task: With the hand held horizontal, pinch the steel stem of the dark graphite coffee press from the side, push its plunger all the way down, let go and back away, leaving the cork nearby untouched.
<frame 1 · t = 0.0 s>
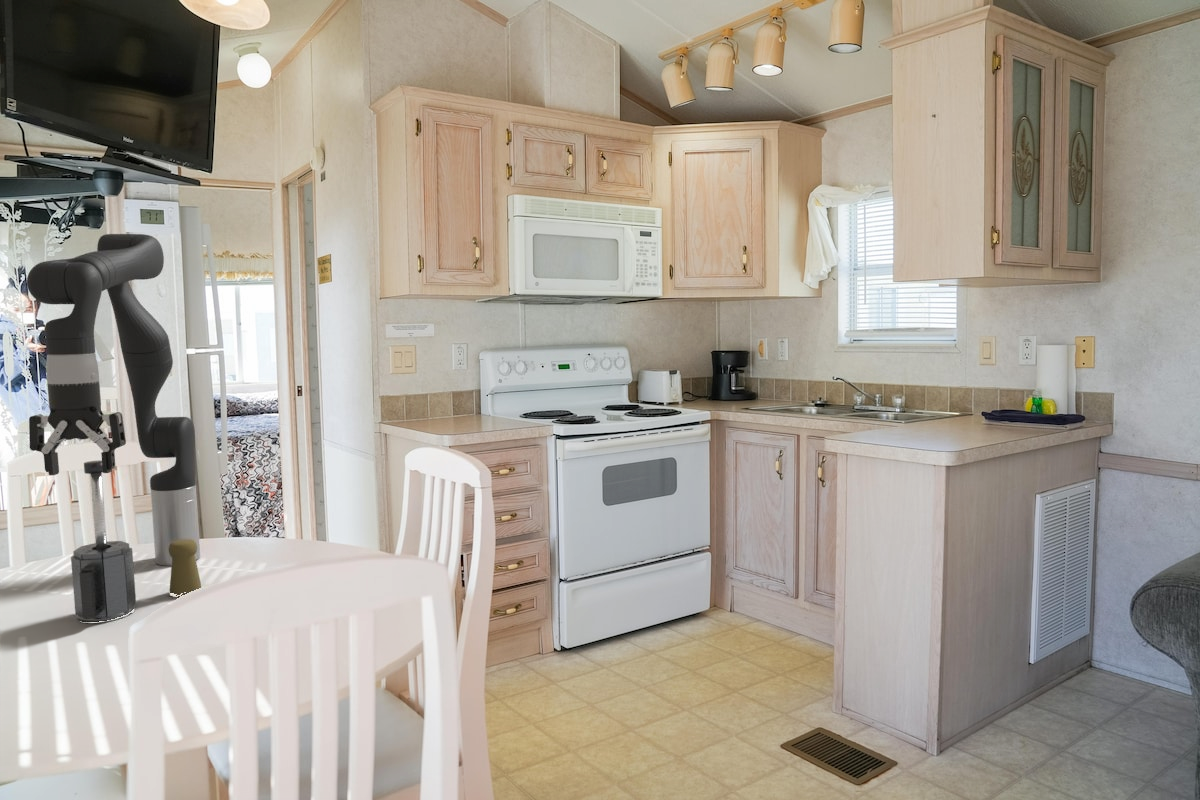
hand: (80, 473, 142), 29 cm above the table, tool pointing down, fingers open, 8 cm apart
plunger: (99, 517, 153), point 19 cm above the table, slide at 0.0 cm
coffee press: (106, 614, 156), on the table
cork: (185, 593, 167), on the table
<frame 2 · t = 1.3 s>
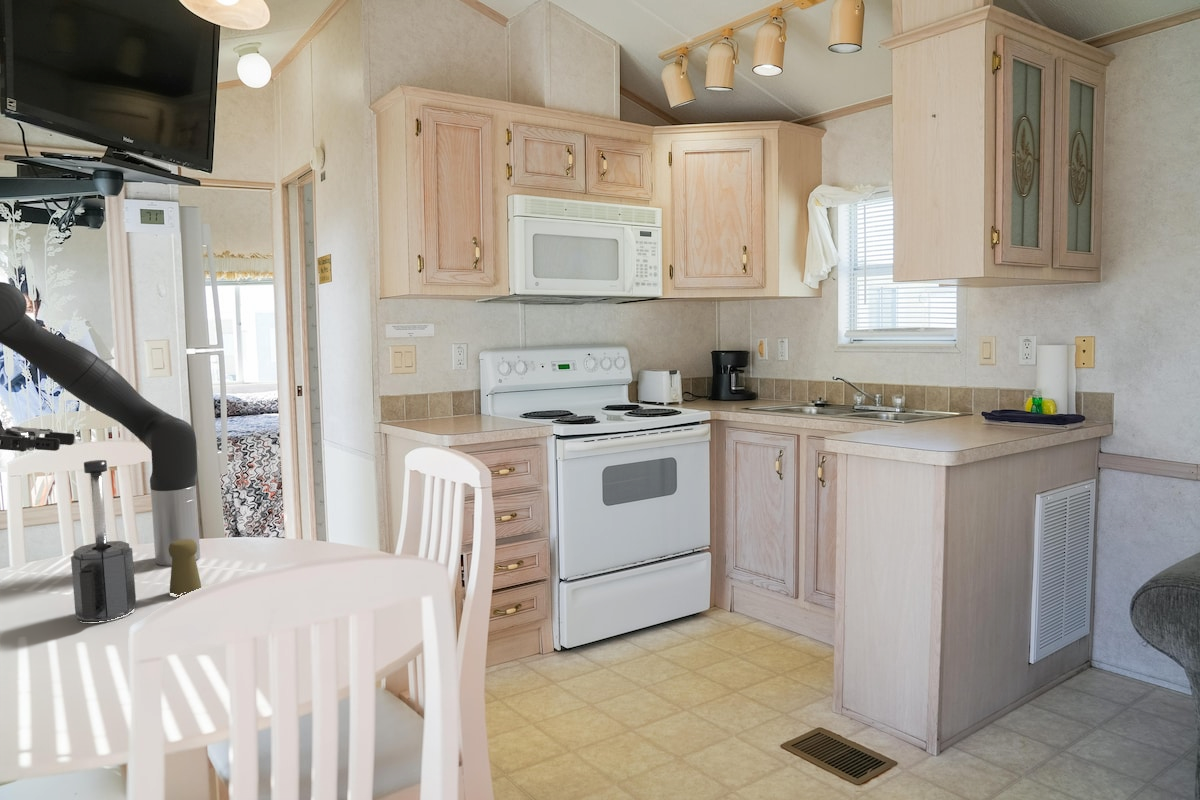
hand: (66, 442, 156), 33 cm above the table, tool horizontal, fingers open, 8 cm apart
nothing on the table moved.
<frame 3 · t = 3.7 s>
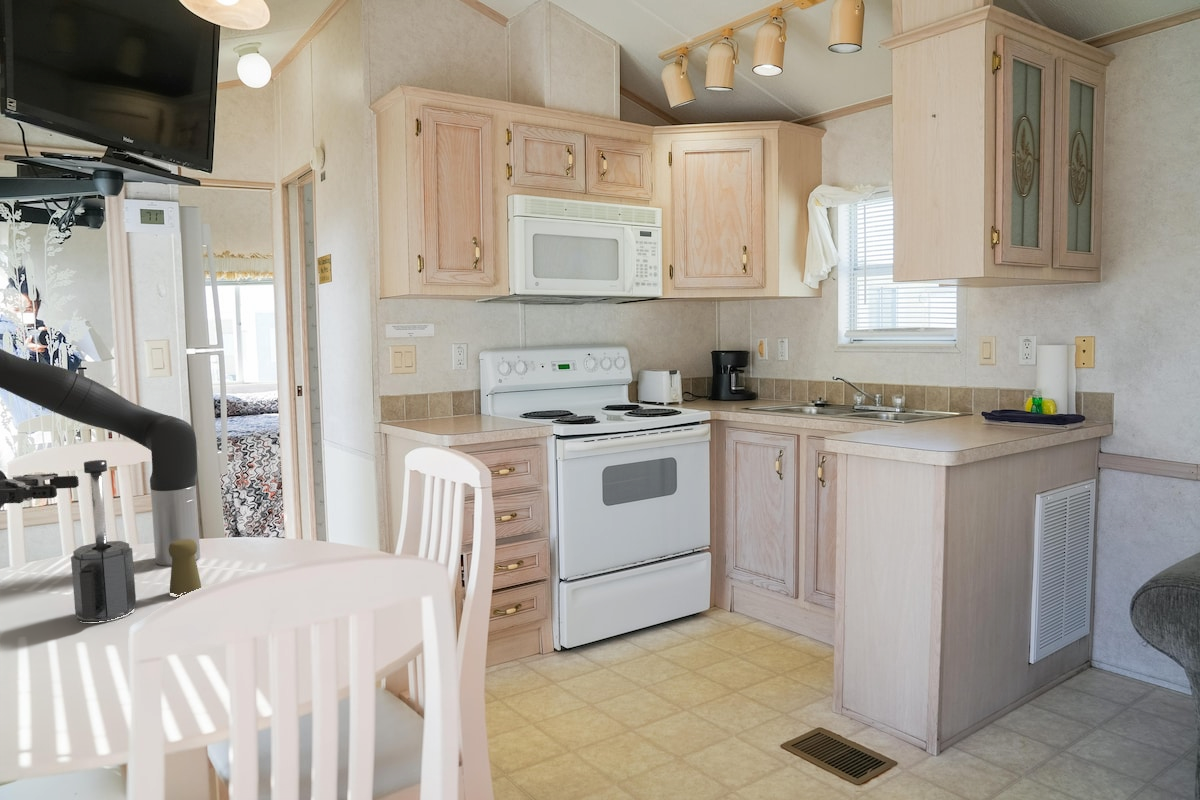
hand: (67, 486, 152), 25 cm above the table, tool horizontal, fingers open, 8 cm apart
nothing on the table moved.
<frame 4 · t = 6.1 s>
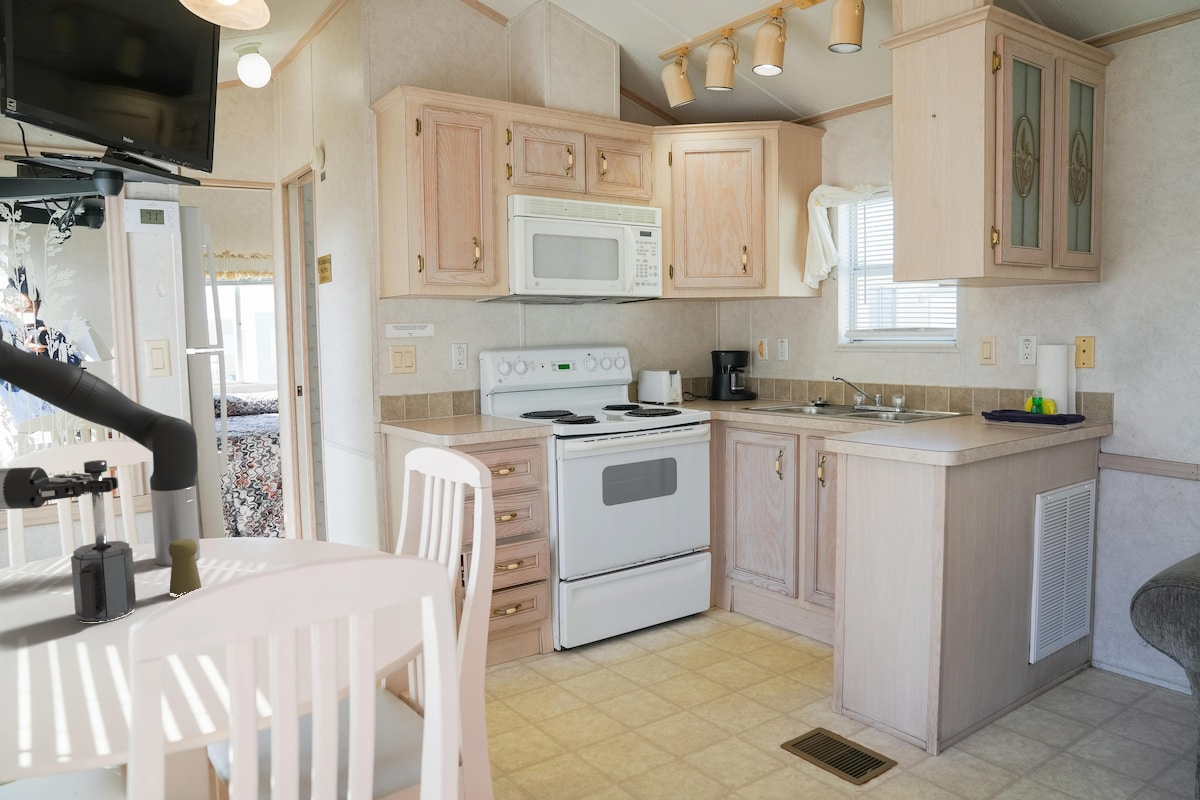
hand: (114, 484, 153), 25 cm above the table, tool horizontal, fingers closed on plunger, 2 cm apart
plunger: (99, 517, 153), point 19 cm above the table, slide at 0.0 cm, touching gripper
everything else where it was.
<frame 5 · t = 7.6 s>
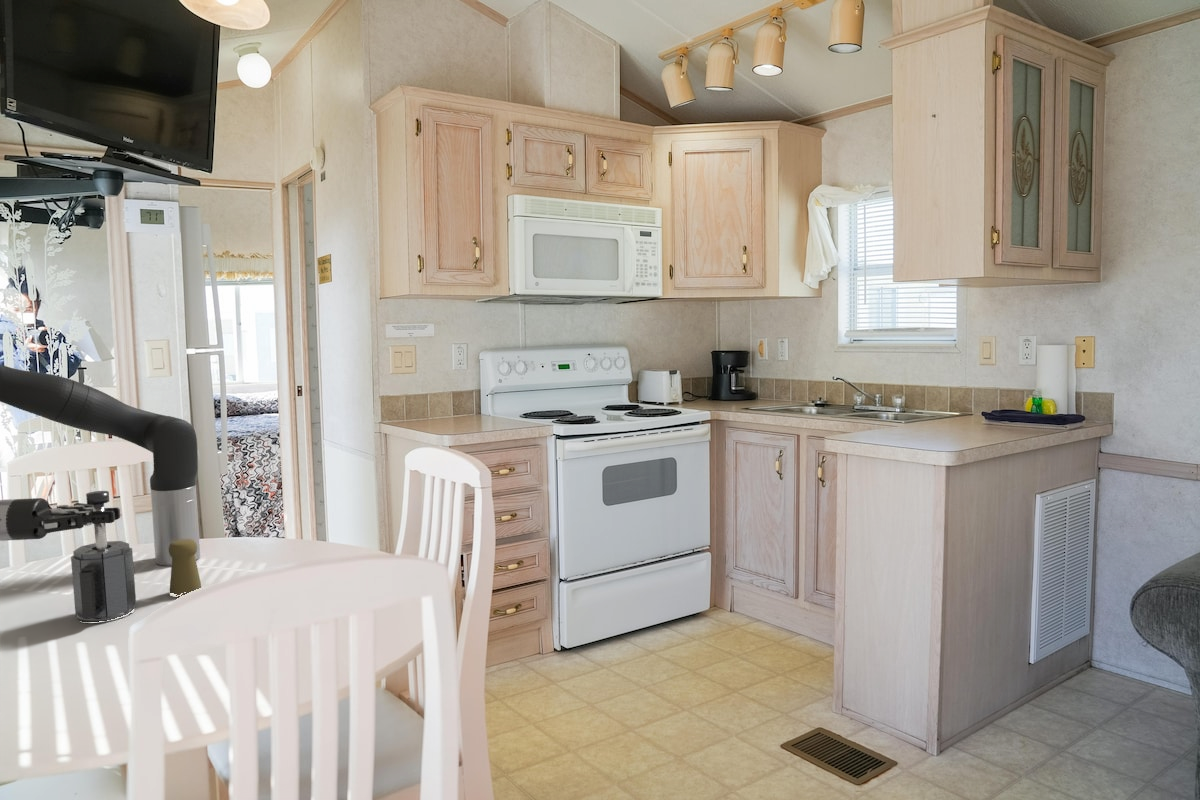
hand: (116, 515, 154), 19 cm above the table, tool horizontal, fingers closed on plunger, 2 cm apart
plunger: (101, 547, 154), point 13 cm above the table, slide at 5.8 cm, touching gripper
everything else where it was.
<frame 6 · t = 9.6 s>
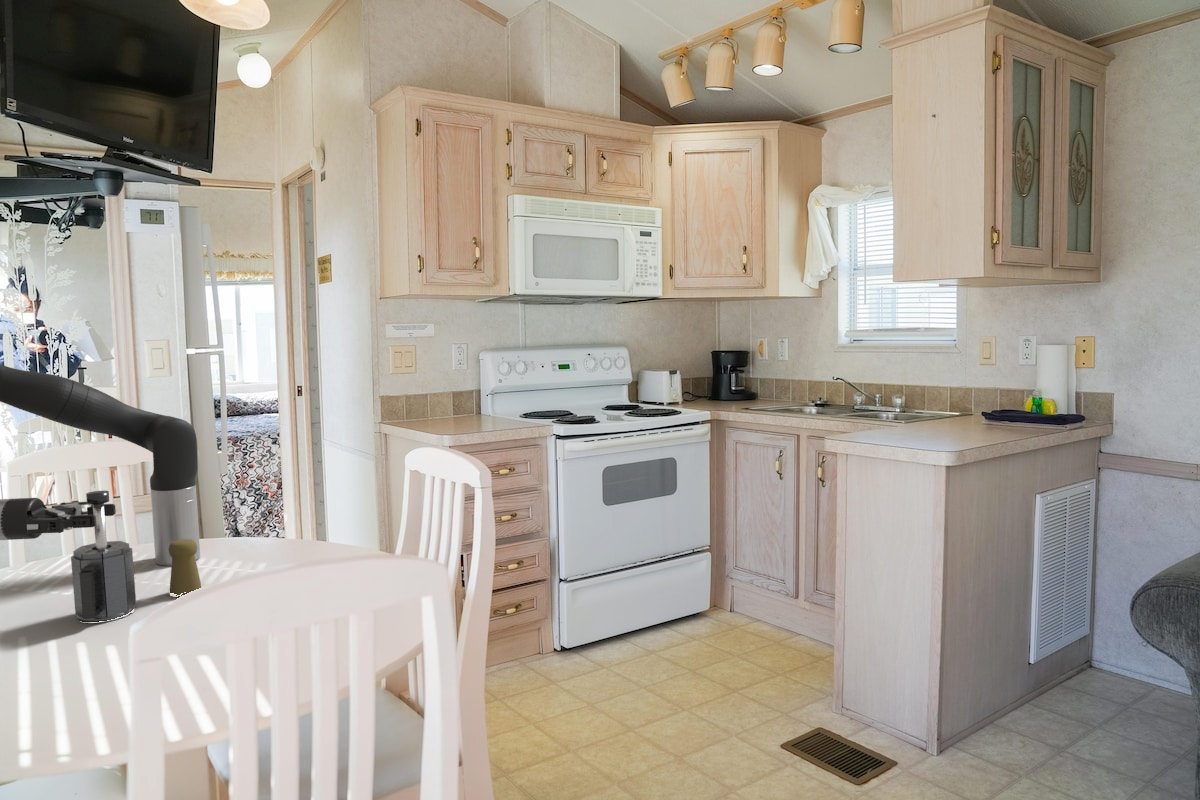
hand: (105, 515, 154), 19 cm above the table, tool horizontal, fingers open, 8 cm apart
plunger: (101, 547, 154), point 13 cm above the table, slide at 5.8 cm
everything else where it was.
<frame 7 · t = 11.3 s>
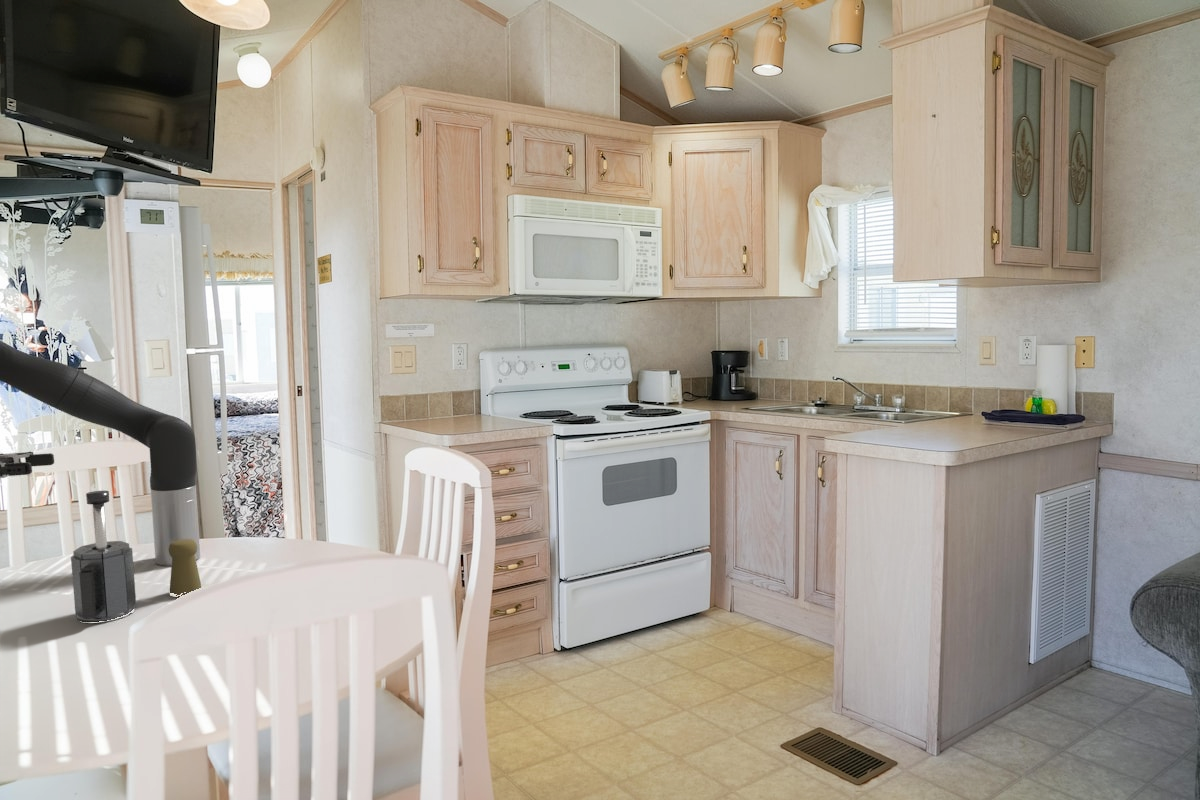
hand: (42, 463, 154), 29 cm above the table, tool horizontal, fingers open, 8 cm apart
nothing on the table moved.
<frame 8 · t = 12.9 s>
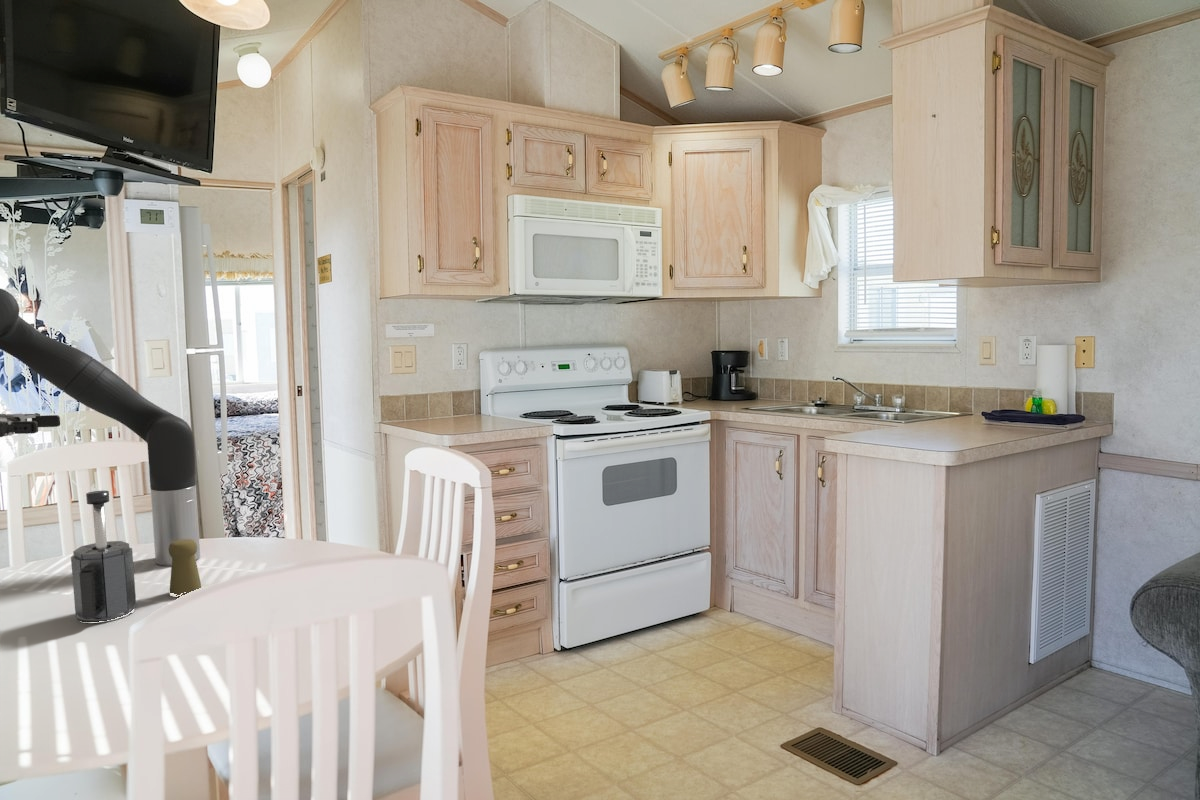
hand: (48, 423, 156), 36 cm above the table, tool horizontal, fingers open, 8 cm apart
nothing on the table moved.
at the end: plunger slide at 5.8 cm; cork moved 0.2 cm from its start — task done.
